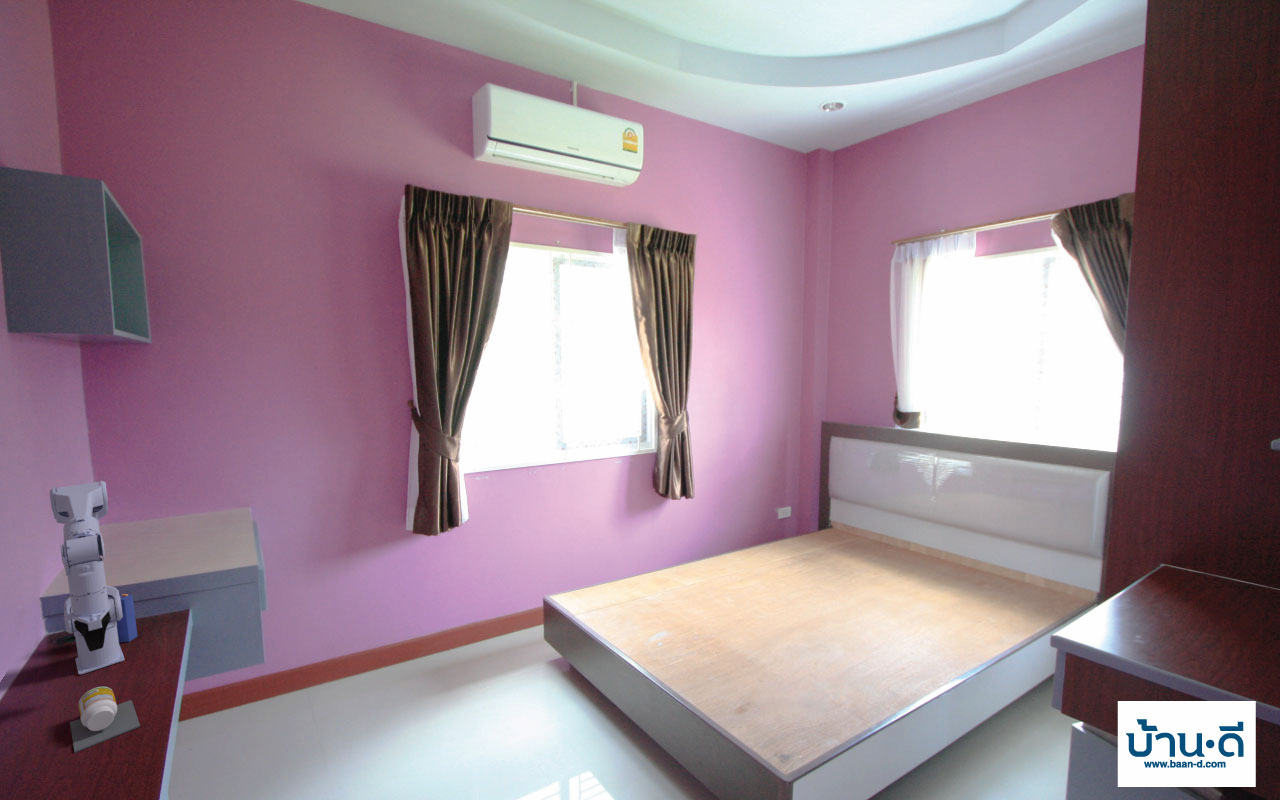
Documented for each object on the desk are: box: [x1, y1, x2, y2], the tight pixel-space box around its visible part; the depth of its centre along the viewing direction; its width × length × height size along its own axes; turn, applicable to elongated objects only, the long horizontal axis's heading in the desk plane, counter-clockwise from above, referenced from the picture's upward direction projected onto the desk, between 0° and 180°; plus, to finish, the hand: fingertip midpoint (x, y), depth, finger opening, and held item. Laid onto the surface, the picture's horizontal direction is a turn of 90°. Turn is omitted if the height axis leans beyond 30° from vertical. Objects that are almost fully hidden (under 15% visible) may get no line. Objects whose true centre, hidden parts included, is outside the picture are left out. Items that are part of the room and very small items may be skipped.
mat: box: [69, 699, 141, 754], centre depth 115 cm, size 12×10×1 cm
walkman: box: [116, 593, 138, 643], centre depth 145 cm, size 8×3×12 cm, turn 96°
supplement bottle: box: [78, 686, 118, 731], centre depth 115 cm, size 5×5×10 cm
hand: (96, 648), depth 124 cm, fingers closed
